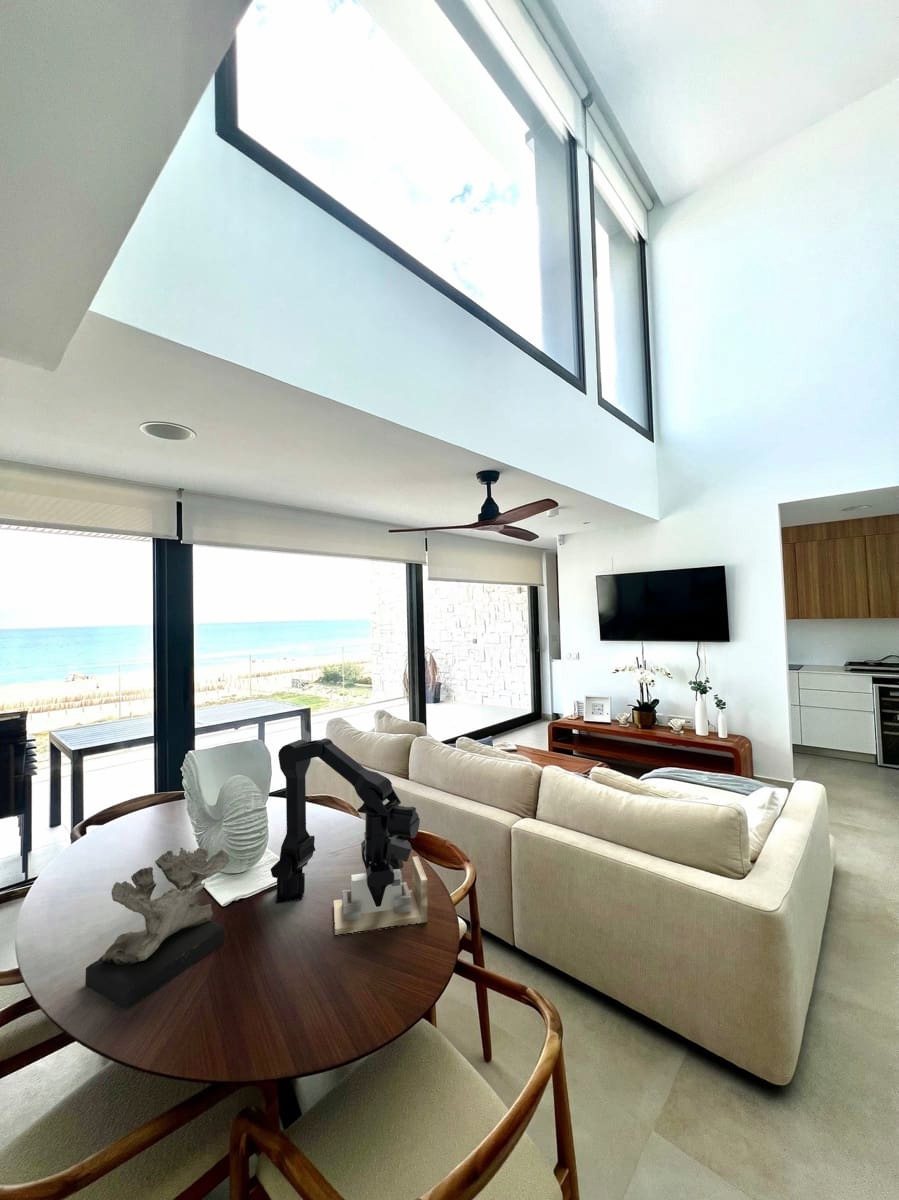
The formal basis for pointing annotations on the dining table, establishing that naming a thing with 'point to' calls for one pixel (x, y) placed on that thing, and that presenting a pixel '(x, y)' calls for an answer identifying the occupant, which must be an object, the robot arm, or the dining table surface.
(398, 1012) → the dining table surface
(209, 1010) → the dining table surface
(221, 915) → the dining table surface
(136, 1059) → the dining table surface
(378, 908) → the door
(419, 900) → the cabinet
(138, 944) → the coral
